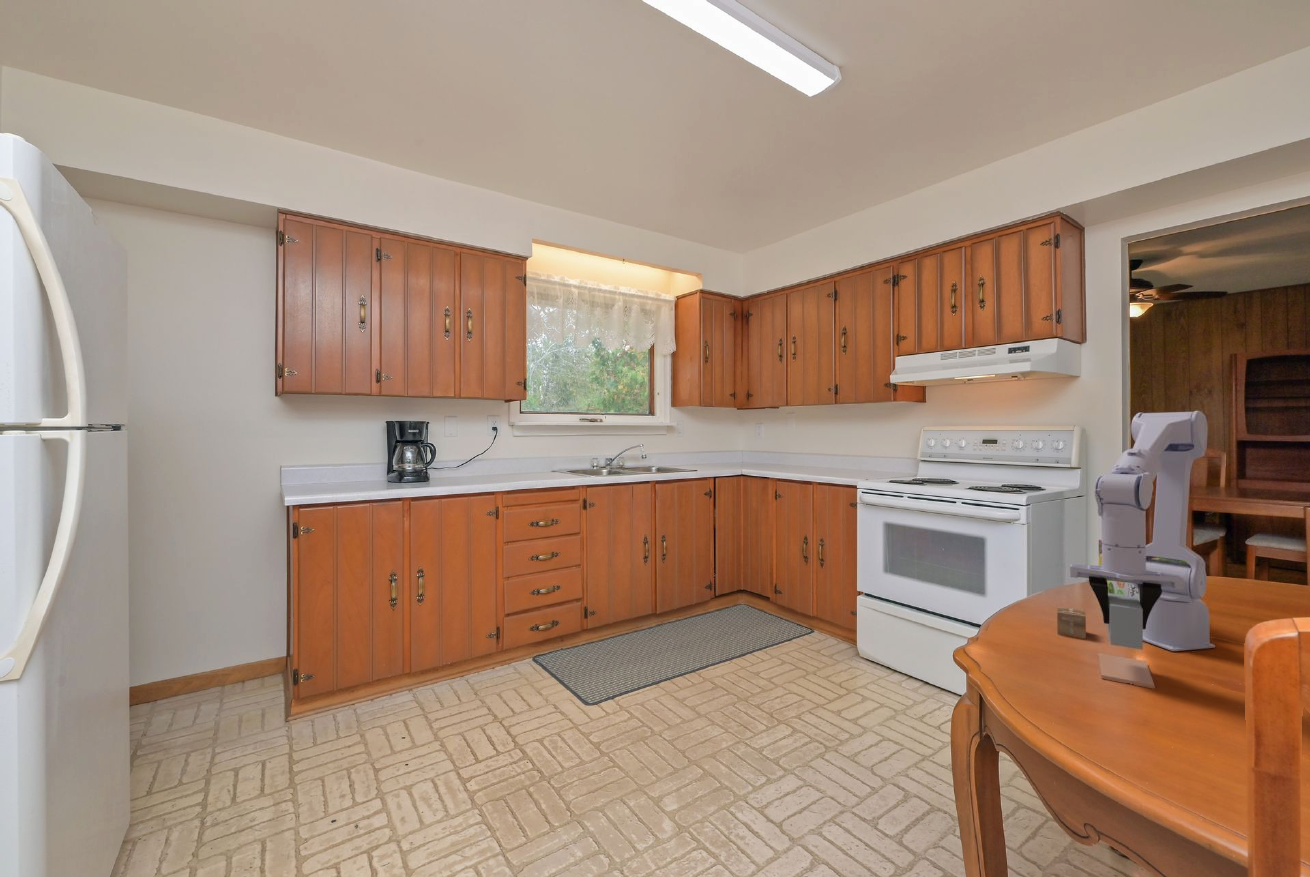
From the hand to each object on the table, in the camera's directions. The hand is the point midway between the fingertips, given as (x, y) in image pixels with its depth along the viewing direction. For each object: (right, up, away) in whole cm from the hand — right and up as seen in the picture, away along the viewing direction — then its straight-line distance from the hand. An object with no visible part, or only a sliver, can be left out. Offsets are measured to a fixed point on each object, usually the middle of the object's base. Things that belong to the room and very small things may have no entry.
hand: (1123, 624), depth 94 cm
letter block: (+5, -8, +18) cm, 20 cm away
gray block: (0, -2, 0) cm, 2 cm away
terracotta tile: (0, -8, 0) cm, 8 cm away
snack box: (+26, -8, +27) cm, 39 cm away
